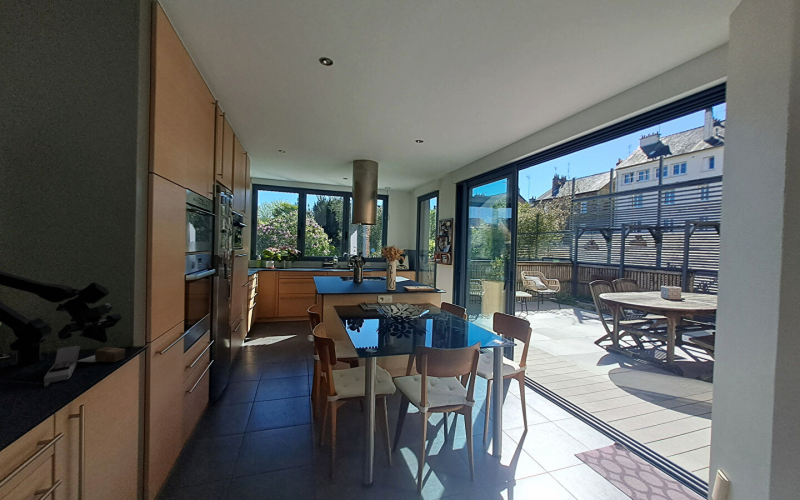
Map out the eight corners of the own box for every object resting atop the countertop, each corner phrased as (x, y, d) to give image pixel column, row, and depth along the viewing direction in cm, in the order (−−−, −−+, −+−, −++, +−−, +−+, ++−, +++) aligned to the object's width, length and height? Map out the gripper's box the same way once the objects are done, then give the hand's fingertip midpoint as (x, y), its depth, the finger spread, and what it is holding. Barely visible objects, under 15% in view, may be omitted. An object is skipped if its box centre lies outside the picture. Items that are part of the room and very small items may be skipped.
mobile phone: (81, 344, 117) (68, 365, 98) (81, 360, 118) (68, 383, 98) (57, 348, 114) (40, 370, 94) (58, 363, 114) (40, 388, 95)
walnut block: (95, 350, 115) (114, 352, 115) (106, 346, 119) (125, 349, 119) (95, 360, 116) (114, 363, 115) (106, 356, 120) (124, 359, 119)
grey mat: (76, 362, 115) (76, 361, 115) (94, 356, 121) (94, 355, 121) (94, 363, 114) (94, 362, 114) (111, 357, 120) (111, 356, 120)
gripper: (64, 302, 108) (92, 335, 107) (118, 294, 127) (142, 321, 126) (45, 323, 109) (72, 355, 108) (101, 312, 128) (124, 339, 127)
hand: (105, 341), depth 117 cm, fingers closed
